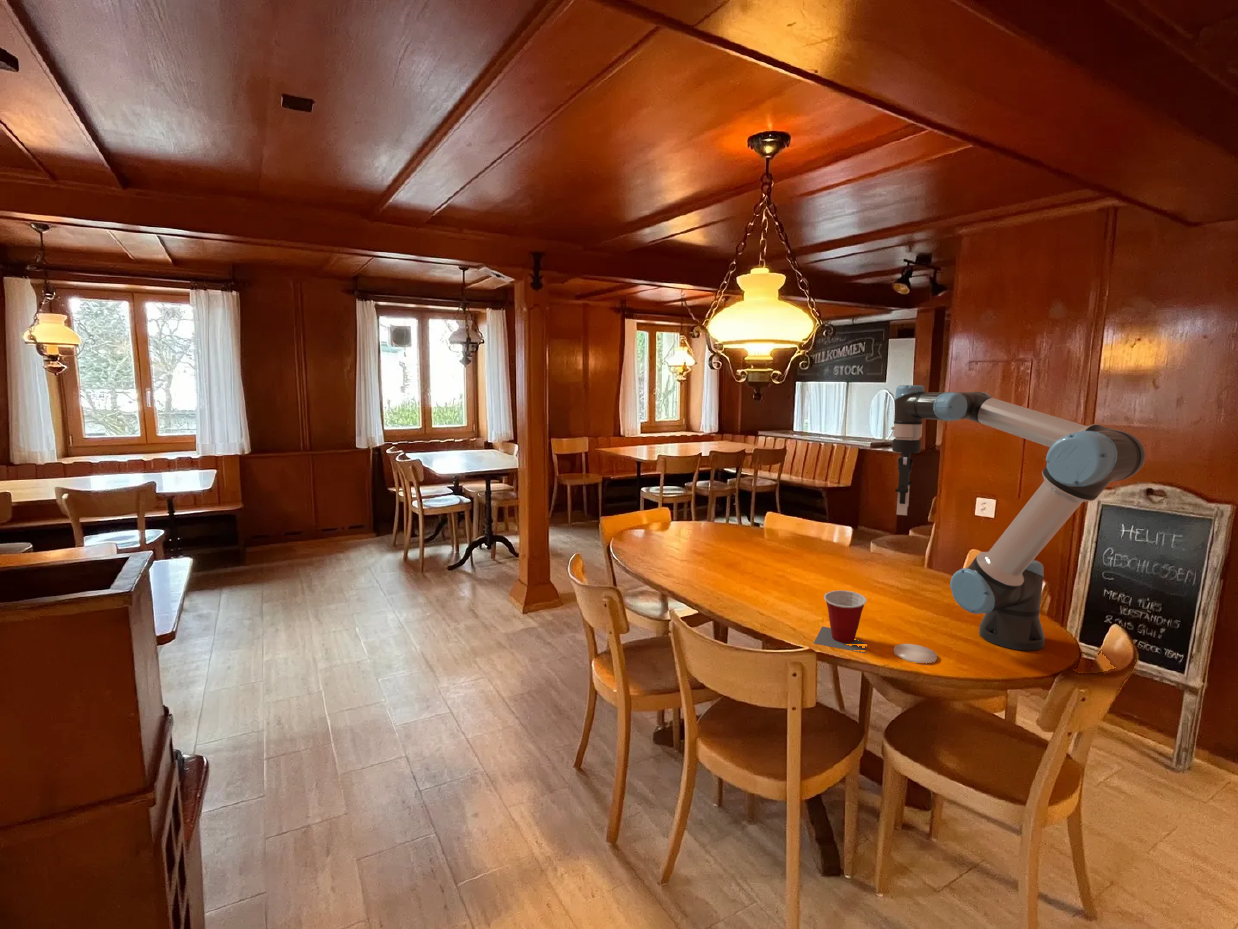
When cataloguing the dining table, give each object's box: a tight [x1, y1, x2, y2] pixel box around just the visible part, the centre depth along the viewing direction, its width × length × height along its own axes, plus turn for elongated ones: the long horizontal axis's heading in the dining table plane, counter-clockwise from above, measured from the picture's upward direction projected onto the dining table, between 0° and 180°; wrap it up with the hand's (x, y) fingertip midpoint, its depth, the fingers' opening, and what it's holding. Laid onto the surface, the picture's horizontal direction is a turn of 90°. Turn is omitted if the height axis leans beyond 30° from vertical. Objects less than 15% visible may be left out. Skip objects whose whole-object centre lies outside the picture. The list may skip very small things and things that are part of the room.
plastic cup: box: [823, 590, 868, 643], centre depth 168 cm, size 11×11×12 cm
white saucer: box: [893, 643, 938, 665], centre depth 159 cm, size 10×10×1 cm
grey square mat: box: [813, 625, 868, 654], centre depth 169 cm, size 13×13×1 cm
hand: (902, 510), depth 182 cm, fingers open, 13 cm apart
